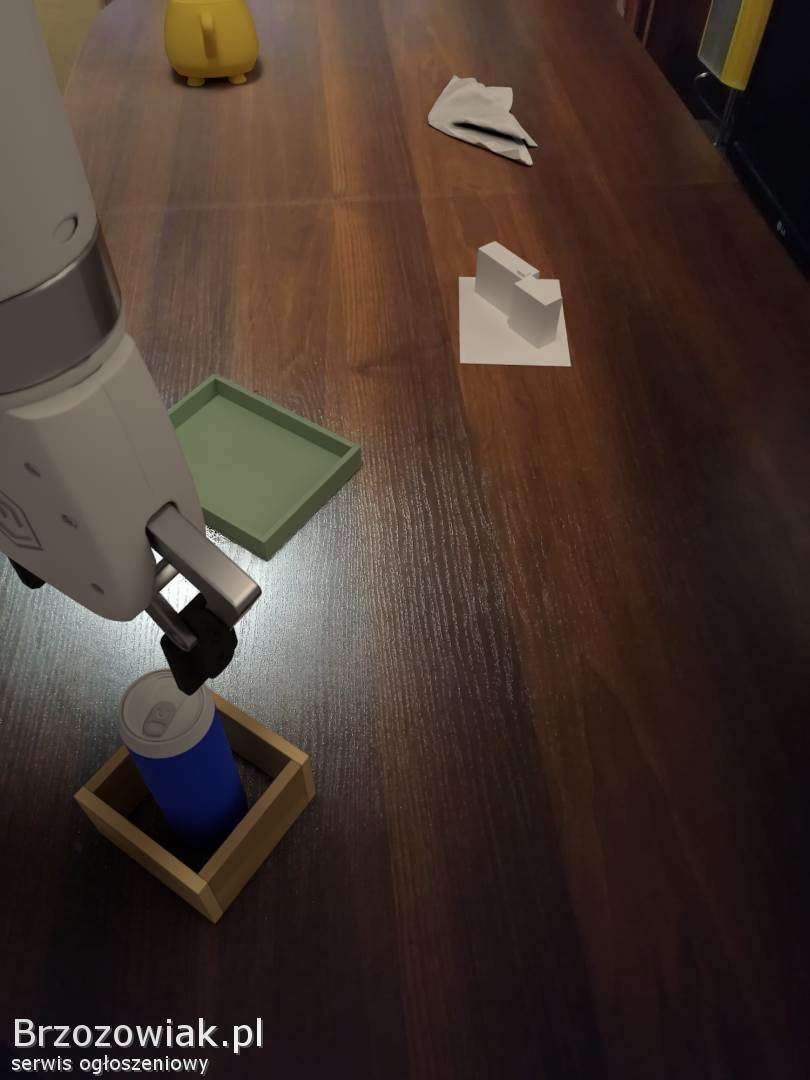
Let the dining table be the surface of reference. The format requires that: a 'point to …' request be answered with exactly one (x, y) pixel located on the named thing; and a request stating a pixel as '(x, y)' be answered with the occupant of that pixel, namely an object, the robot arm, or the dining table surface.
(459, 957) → the dining table surface
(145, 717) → the beverage can
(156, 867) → the square frame
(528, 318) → the napkin holder
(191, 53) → the teapot
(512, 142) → the cloth
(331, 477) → the tray
